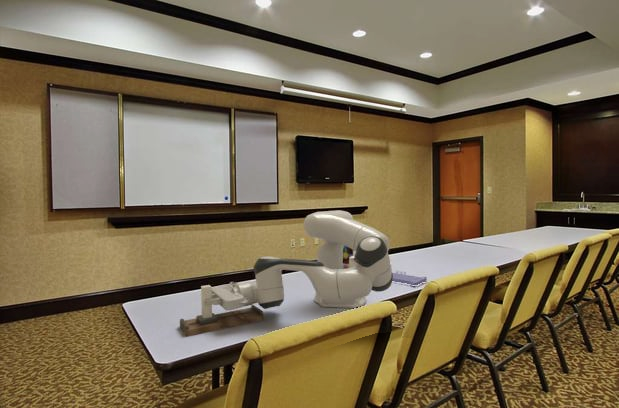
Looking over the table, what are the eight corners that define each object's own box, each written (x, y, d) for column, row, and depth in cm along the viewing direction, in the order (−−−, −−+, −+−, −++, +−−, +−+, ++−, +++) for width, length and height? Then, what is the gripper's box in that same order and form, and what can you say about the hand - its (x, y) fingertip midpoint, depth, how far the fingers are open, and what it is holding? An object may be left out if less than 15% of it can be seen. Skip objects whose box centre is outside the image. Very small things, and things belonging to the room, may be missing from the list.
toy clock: (329, 271, 211) (328, 237, 210) (331, 269, 216) (331, 236, 215) (362, 273, 204) (362, 238, 203) (364, 271, 209) (364, 237, 209)
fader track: (253, 311, 142) (252, 304, 142) (263, 319, 134) (263, 311, 134) (179, 326, 128) (179, 318, 127) (186, 336, 119) (186, 327, 119)
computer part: (378, 273, 205) (363, 278, 194) (378, 266, 204) (362, 271, 194) (428, 282, 184) (414, 288, 173) (428, 274, 184) (414, 280, 173)
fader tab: (213, 316, 132) (212, 283, 131) (217, 320, 127) (217, 286, 126) (196, 319, 129) (195, 285, 128) (200, 324, 124) (199, 289, 123)
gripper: (252, 310, 125) (212, 318, 118) (232, 296, 143) (197, 302, 136) (251, 292, 125) (212, 299, 118) (232, 280, 143) (197, 286, 135)
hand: (204, 301), depth 127 cm, fingers closed on fader tab, 2 cm apart
